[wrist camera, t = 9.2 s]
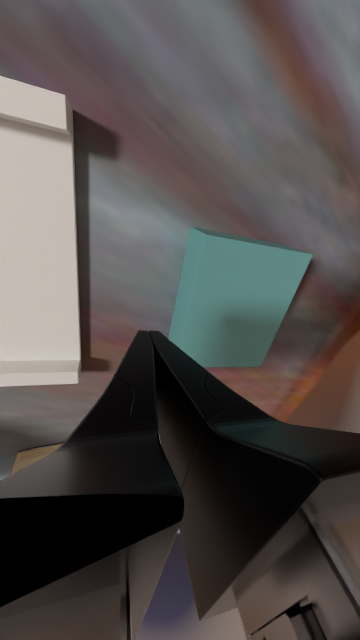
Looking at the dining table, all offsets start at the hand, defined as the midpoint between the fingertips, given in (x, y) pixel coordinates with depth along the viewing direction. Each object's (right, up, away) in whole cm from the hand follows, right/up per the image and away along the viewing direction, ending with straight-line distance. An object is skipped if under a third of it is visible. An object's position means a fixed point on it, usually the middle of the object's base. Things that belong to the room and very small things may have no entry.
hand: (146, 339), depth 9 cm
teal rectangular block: (+5, +3, +10) cm, 12 cm away
